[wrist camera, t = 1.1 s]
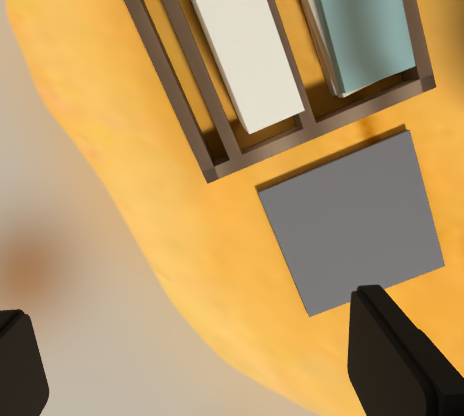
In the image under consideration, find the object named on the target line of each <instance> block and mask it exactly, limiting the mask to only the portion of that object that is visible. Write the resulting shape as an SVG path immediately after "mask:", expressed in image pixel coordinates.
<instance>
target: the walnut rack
mask: <svg viewBox="0 0 464 416" xmlns="http://www.w3.org/2000/svg"><path fill="white" fill-rule="evenodd" d="M124 1H125V4H126V6H127V8H128V10H129V12H130V15H131V17H132V19H133V21H134V23H135V26H136V28H137V30H138V32H139V34H140V37H141V39H142V41H143V43H144V45H145V48H146V50H147V52H148V54H149V56H150V59H151V61H152V63H153V65H154V67H155V70H156V72H157V74H158V76H159V78H160V81H161V83H162V85H163V87H164V89H165V91H166V94H167V96H168V98H169V100H170V102H171V105H172V107H173V109H174V111H175V113H176V116H177V118H178V120H179V122H180V124H181V127H182V129H183V131H184V133H185V135H186V138H187V140H188V142H189V144H190V146H191V149H192V151H193V153H194V155H195V157H196V160H197V162H198V164H199V166H200V168H201V171H202V173H203V175H204V177H205V179H206V181H207V184H208V183H210V182H213V181H215V180H217V179H220V178H222V177H224V176H227V175H229V174H232V173H234V172H236V171H239V170H241V169H243V168H246V167H248V166H251V165H253V164H255V163H258V162H260V161H262V160H265V159H267V158H269V157H272V156H274V155H277V154H279V153H281V152H284V151H286V150H288V149H291V148H293V147H296V146H298V145H300V144H303V143H305V142H307V141H310V140H312V139H314V138H317V137H319V136H322V135H324V134H326V133H329V132H331V131H333V130H336V129H338V128H341V127H343V126H345V125H348V124H350V123H352V122H355V121H357V120H359V119H362V118H364V117H367V116H369V115H371V114H374V113H376V112H378V111H381V110H383V109H386V108H388V107H390V106H393V105H395V104H397V103H400V102H402V101H405V100H407V99H409V98H412V97H414V96H416V95H419V94H421V93H423V92H426V91H428V90H431V89H433V88H435V87H436V84H435V80H434V75H433V71H432V67H431V62H430V58H429V53H428V49H427V45H426V40H425V36H424V32H423V27H422V23H421V19H420V14H419V10H418V5H417V1H416V0H402V1H403V6H404V11H405V16H406V21H407V26H408V31H409V36H410V40H411V45H412V50H413V55H414V60H415V65H416V66H414V67H412V68H409V69H407V70H404V71H401V76H402V80H403V81H402V82H399V83H397V84H395V85H392V86H390V87H388V88H385V89H383V90H381V91H378V92H376V93H374V94H371V95H369V96H367V97H364V98H362V99H360V100H357V101H355V102H353V103H350V104H348V105H346V106H343V107H341V108H338V109H336V110H334V111H331V112H329V113H327V114H324V115H322V116H320V117H317V118H314V115H313V112H312V109H311V106H310V103H309V100H308V97H307V94H306V92H305V89H304V86H303V83H302V80H301V77H300V74H299V71H298V68H297V65H296V62H295V59H294V56H293V53H292V50H291V47H290V44H289V41H288V38H287V36H286V33H285V30H284V27H283V24H282V21H281V18H280V15H279V12H278V9H277V6H276V3H275V0H267V2H268V5H269V8H270V11H271V14H272V17H273V20H274V23H275V26H276V28H277V31H278V34H279V37H280V40H281V43H282V46H283V49H284V52H285V54H286V57H287V60H288V63H289V66H290V69H291V72H292V75H293V78H294V81H295V83H296V86H297V89H298V92H299V95H300V98H301V101H302V104H303V107H304V110H305V111H302V112H300V113H298V114H295V115H293V117H294V120H295V123H296V127H294V128H292V129H289V130H287V131H285V132H282V133H280V134H278V135H275V136H273V137H271V138H268V139H266V140H264V141H261V142H259V143H257V144H254V145H252V146H250V147H247V148H245V149H243V150H240V148H239V146H238V144H237V141H236V139H235V136H234V134H233V131H232V129H231V127H230V124H229V122H228V119H227V117H226V115H225V112H224V110H223V107H222V105H221V102H220V100H219V98H218V95H217V93H216V90H215V88H214V86H213V83H212V81H211V78H210V76H209V73H208V71H207V69H206V66H205V64H204V61H203V59H202V57H201V54H200V52H199V49H198V47H197V44H196V42H195V40H194V37H193V35H192V32H191V30H190V28H189V25H188V23H187V20H186V18H185V15H184V13H183V11H182V8H181V6H180V3H179V1H178V0H162V2H163V4H164V6H165V9H166V11H167V13H168V16H169V18H170V20H171V23H172V25H173V27H174V30H175V32H176V34H177V37H178V39H179V41H180V44H181V46H182V48H183V51H184V53H185V56H186V58H187V60H188V63H189V65H190V67H191V70H192V72H193V74H194V77H195V79H196V81H197V84H198V86H199V88H200V91H201V93H202V95H203V98H204V100H205V102H206V105H207V107H208V110H209V112H210V114H211V117H212V119H213V121H214V124H215V126H216V128H217V131H218V133H219V135H220V138H221V140H222V142H223V145H224V147H225V149H226V152H227V154H228V156H226V157H224V158H221V159H219V160H217V161H214V159H213V157H212V155H211V152H210V150H209V148H208V145H207V143H206V141H205V139H204V136H203V134H202V132H201V130H200V127H199V125H198V123H197V120H196V118H195V116H194V114H193V111H192V109H191V107H190V105H189V102H188V100H187V98H186V95H185V93H184V91H183V89H182V86H181V84H180V82H179V80H178V77H177V75H176V73H175V70H174V68H173V66H172V64H171V61H170V59H169V57H168V55H167V52H166V50H165V48H164V46H163V43H162V41H161V39H160V36H159V34H158V32H157V30H156V27H155V25H154V23H153V21H152V18H151V16H150V14H149V11H148V9H147V7H146V5H145V2H144V0H124Z"/></svg>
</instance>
